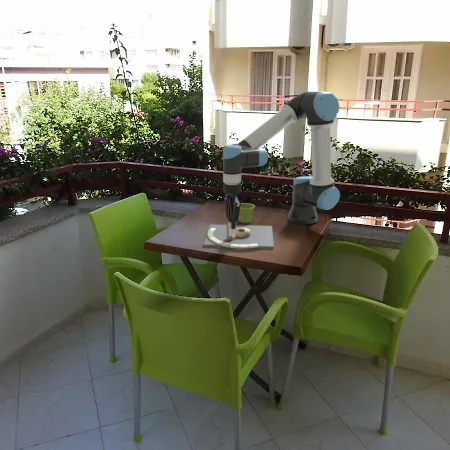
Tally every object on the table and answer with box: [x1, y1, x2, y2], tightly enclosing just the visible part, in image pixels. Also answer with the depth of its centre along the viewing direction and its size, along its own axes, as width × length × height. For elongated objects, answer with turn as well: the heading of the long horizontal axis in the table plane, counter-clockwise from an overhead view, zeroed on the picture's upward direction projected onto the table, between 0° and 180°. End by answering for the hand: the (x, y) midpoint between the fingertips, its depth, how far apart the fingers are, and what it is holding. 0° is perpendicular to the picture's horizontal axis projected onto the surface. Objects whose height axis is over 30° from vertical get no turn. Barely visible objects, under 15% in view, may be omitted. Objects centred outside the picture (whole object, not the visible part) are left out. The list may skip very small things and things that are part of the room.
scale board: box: [202, 224, 275, 250], centre depth 180 cm, size 31×29×2 cm
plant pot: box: [238, 202, 256, 224], centre depth 201 cm, size 9×9×9 cm
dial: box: [223, 223, 250, 242], centre depth 177 cm, size 17×8×7 cm, turn 140°
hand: (232, 234), depth 171 cm, fingers closed
